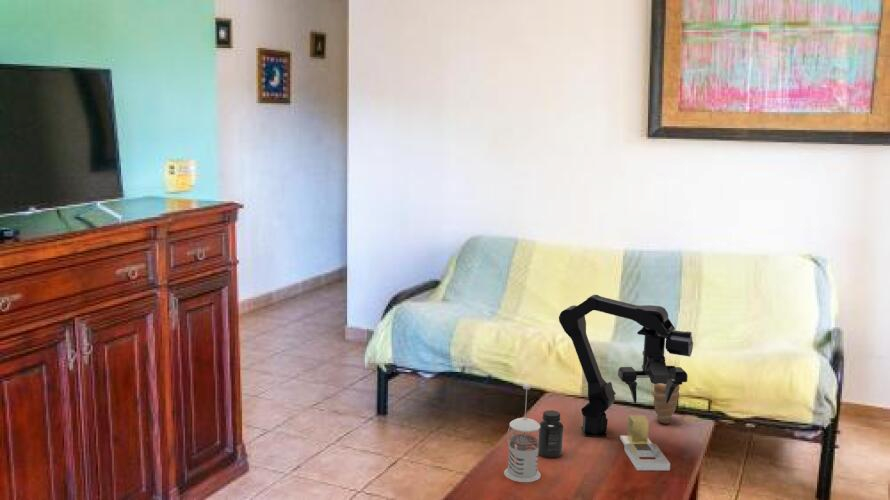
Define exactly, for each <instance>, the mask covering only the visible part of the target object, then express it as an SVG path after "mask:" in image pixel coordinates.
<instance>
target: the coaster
mask: <svg viewBox="0 0 890 500" xmlns="http://www.w3.org/2000/svg"><path fill="white" fill-rule="evenodd" d="M619 439H620V440H621V442H622V444H623V445H624V446H625V444H631V443H630V441H629V440H628V438H627V435H619ZM647 444H653V442H652V441H651V440H650V439H649V437H648V440H647Z"/></svg>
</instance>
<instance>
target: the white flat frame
mask: <svg viewBox="0 0 890 500" xmlns="http://www.w3.org/2000/svg"><path fill="white" fill-rule="evenodd" d="M623 449H624V452H625V454H626V456H628V457H627V458H629V460H630V461H631V463H632V464H633V466H634V468H635V470H636V471H662V472H663V471H665V472H667V471H669V472H670V471H671V462H670V461H669V460H668V458H667V457H666V456H665V454H664V453H663V452H662V450H661V449H660V447H659V446H658V444H656V443H652V444H625V445H624V448H623ZM641 458H647V459H641ZM648 458H649V459H648ZM650 458H654V459H650Z"/></svg>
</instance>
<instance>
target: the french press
mask: <svg viewBox="0 0 890 500" xmlns="http://www.w3.org/2000/svg"><path fill="white" fill-rule="evenodd" d="M522 388H523V390H525V405H524V406H525V407H524V417H517V418H515V419H513V420H511V421H510V422H509V427H508V430H507V443H508V461H507V462H508V465H507V468H505V470H504V472H503V475H504V476H505V477H506V478H507V479H510V480H511V481H514V482H519V483H532V482H534V481H538V480H539V479H540V478H541V472H540V471H539V470H538V464H539V463H538V460H539V453H538V439H537V437H536V436H533V435H530V434H526V433H535V432H537V431H539V429H540V424H539V423H540V422H538V421H536V420H534V419H532V418H527V415H526V414H527V403H528V402H527V401H528V400H527V399H528V398H527V397H528V390H531V385H530V384H529V383H525V384H523V386H522ZM510 429H512V435H511V437H510V436H509V435H510V434H509V432H510ZM515 431H516V432H521V433H520V434H515ZM534 446H535V447H534Z"/></svg>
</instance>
